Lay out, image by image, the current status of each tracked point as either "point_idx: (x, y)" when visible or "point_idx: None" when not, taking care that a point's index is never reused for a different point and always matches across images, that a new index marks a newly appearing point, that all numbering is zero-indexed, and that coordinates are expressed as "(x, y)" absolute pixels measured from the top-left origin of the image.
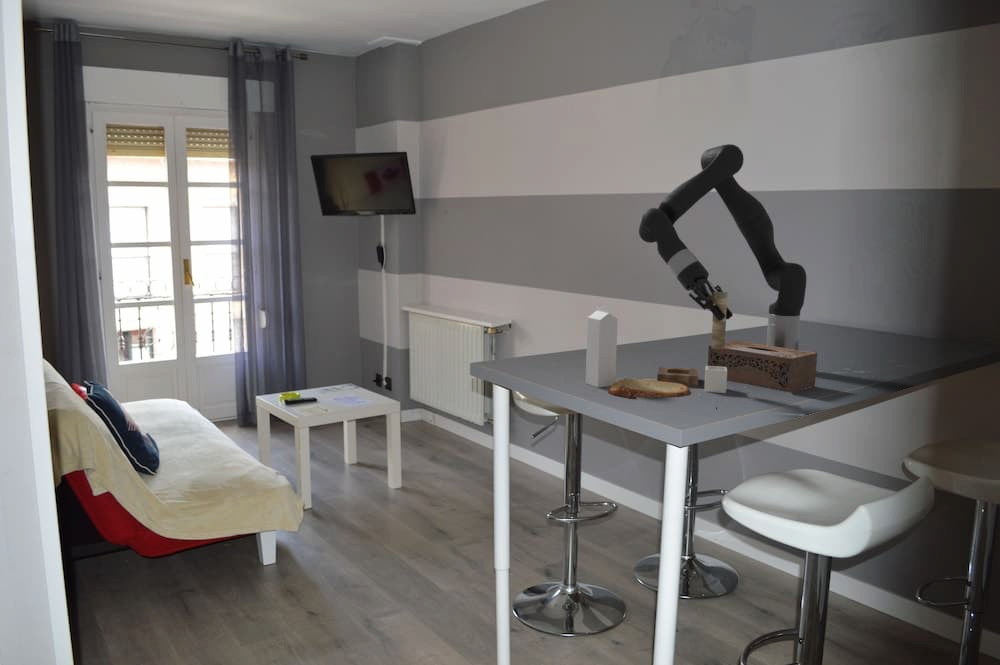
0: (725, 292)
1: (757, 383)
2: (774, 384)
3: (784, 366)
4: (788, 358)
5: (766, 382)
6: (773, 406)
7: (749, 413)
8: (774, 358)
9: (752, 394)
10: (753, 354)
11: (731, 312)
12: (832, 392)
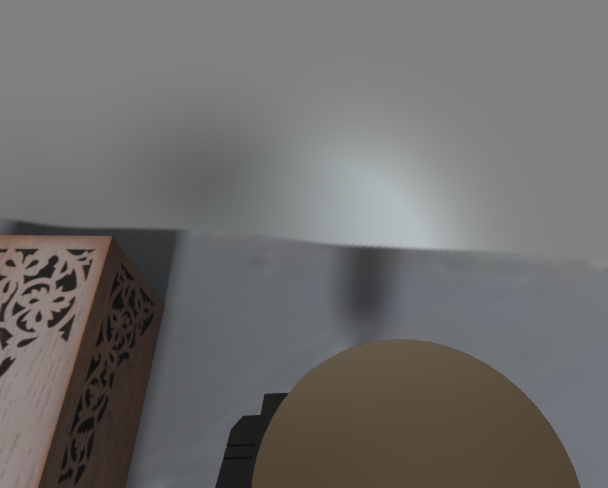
0: (290, 431)
1: (128, 436)
2: (142, 354)
3: (120, 284)
4: (109, 250)
5: (133, 389)
6: (381, 256)
7: (533, 258)
8: (93, 321)
9: (267, 390)
10: (55, 446)
11: (265, 404)
12: (45, 230)
